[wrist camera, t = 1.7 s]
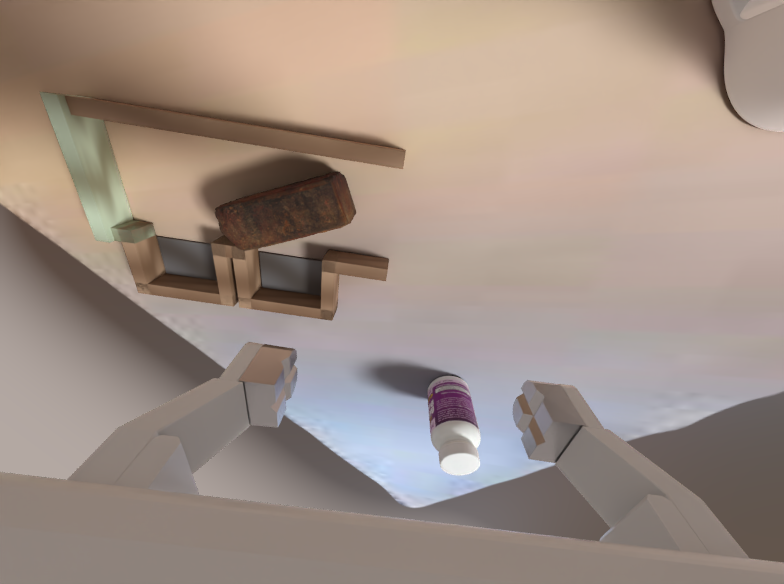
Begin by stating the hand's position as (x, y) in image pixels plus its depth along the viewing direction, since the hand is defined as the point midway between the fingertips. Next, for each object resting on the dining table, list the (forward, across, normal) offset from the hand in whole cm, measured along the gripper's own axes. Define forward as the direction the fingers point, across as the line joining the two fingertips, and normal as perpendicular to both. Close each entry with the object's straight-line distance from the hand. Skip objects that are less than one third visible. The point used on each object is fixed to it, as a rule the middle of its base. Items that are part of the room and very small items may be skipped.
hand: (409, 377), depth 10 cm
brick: (+20, +10, 0) cm, 22 cm away
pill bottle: (+20, -9, +21) cm, 30 cm away
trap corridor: (+19, +14, +2) cm, 24 cm away
